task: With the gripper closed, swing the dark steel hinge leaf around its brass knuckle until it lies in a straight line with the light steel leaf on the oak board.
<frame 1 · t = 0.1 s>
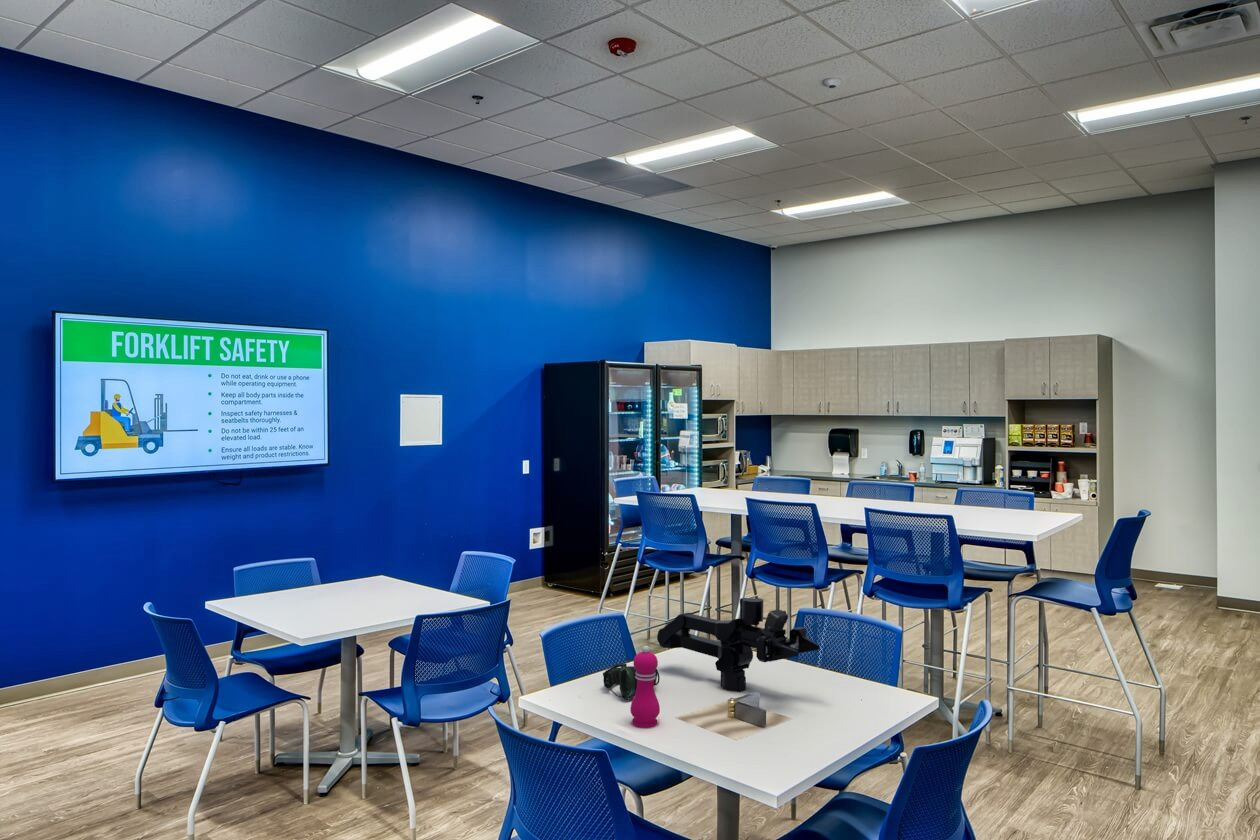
hand: (808, 650, 211), 17 cm above the table, tool horizontal, fingers open, 9 cm apart
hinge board: (733, 722, 206), on the table
fixed leaf: (732, 716, 207), resting on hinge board
headphones: (631, 693, 228), on the table
pepper mill: (644, 728, 201), on the table
swing leaf: (746, 712, 203), point 3 cm above the table, hinge at 0.0°
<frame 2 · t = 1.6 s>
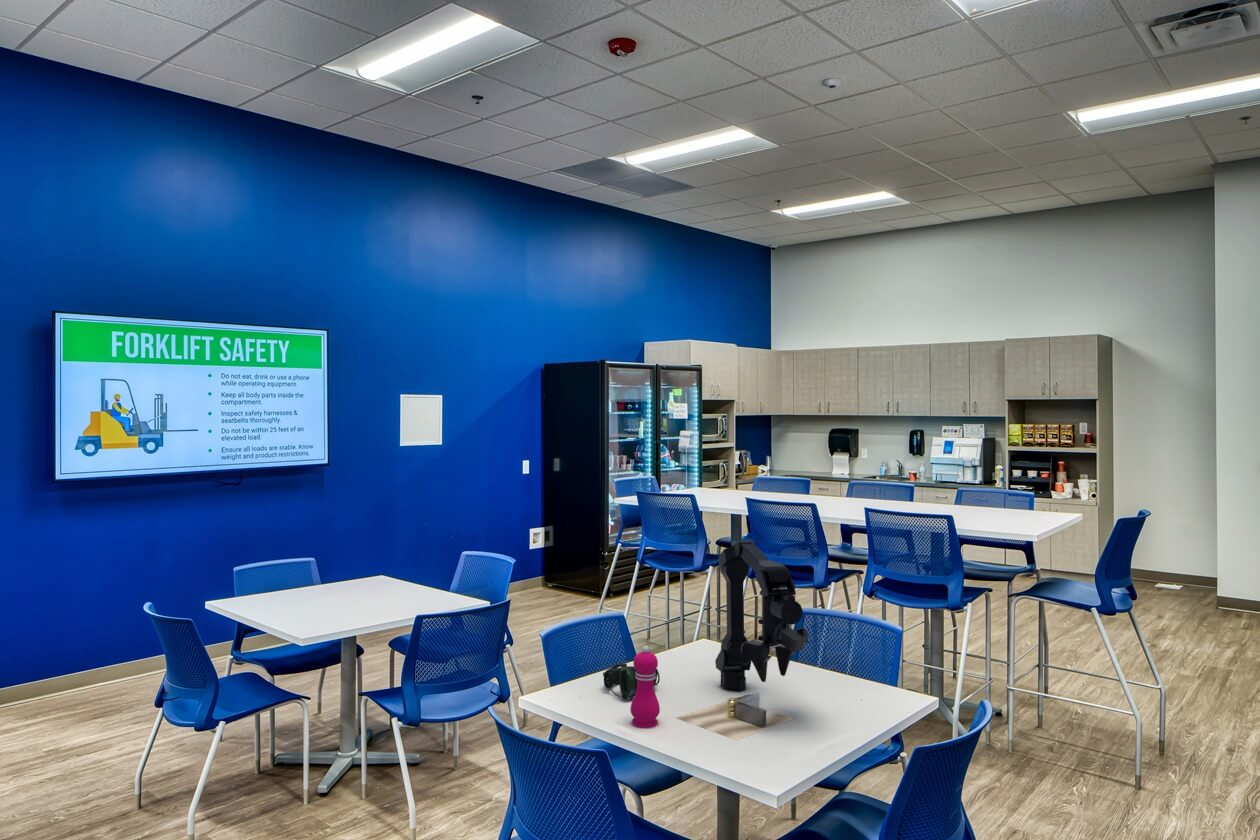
hand: (773, 678, 205), 11 cm above the table, tool pointing down, fingers open, 8 cm apart
nothing on the table moved.
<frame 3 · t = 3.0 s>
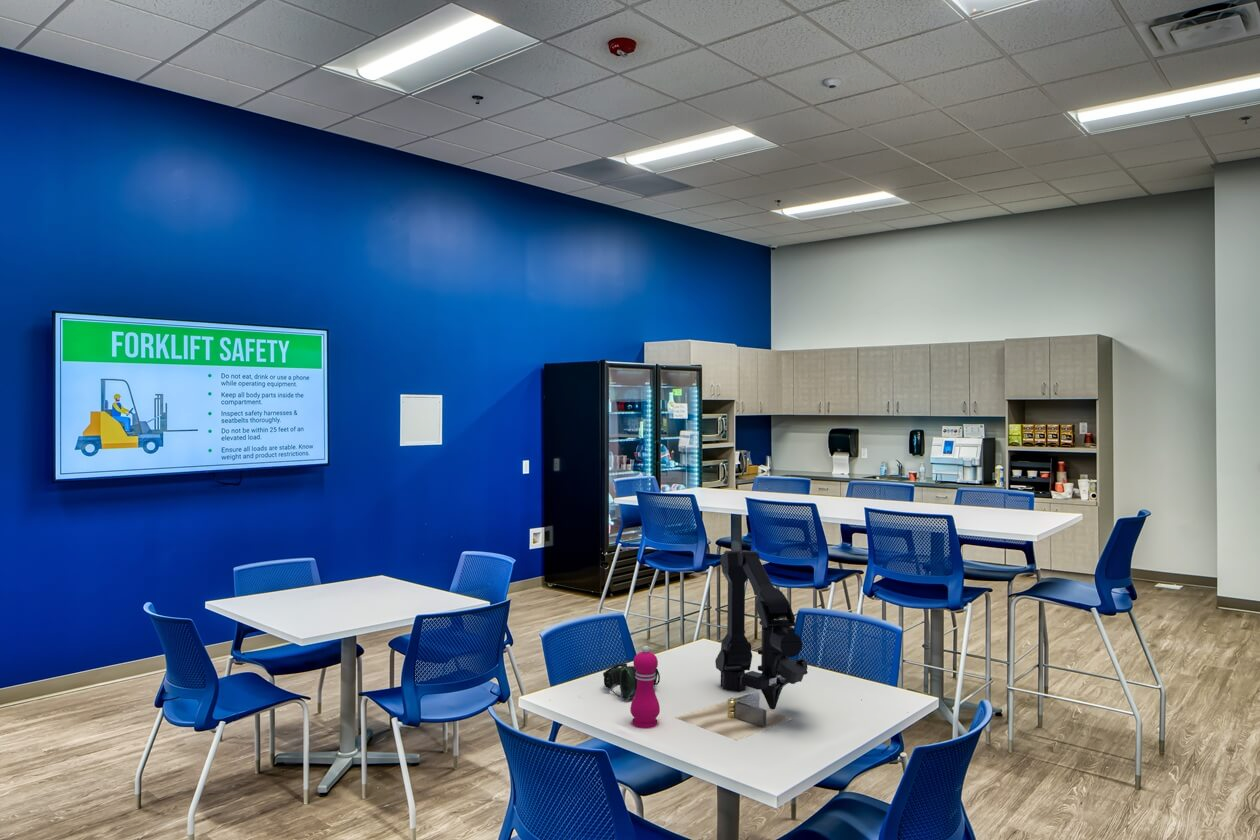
hand: (772, 709, 205), 4 cm above the table, tool pointing down, fingers closed
nothing on the table moved.
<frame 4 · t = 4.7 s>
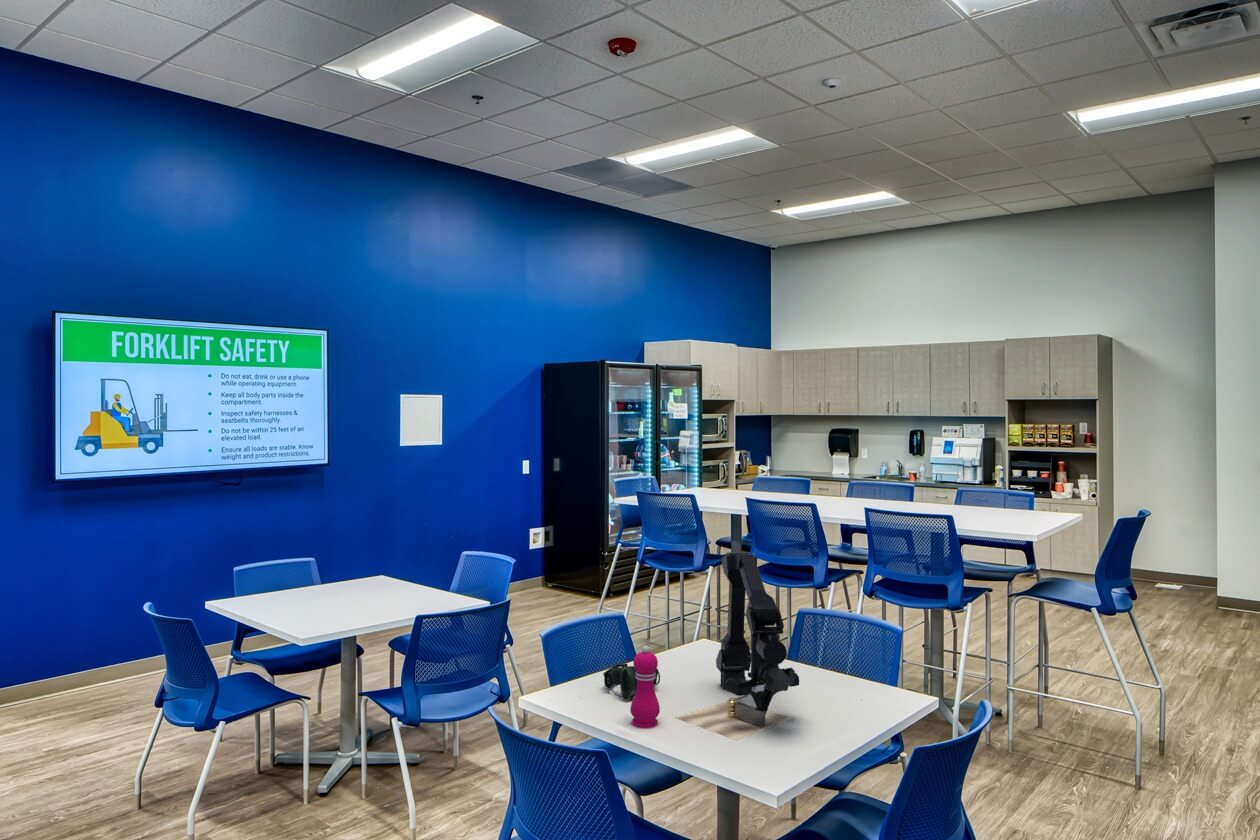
hand: (762, 716, 202), 3 cm above the table, tool pointing down, fingers closed
swing leaf: (746, 712, 203), point 3 cm above the table, hinge at -1.9°, touching gripper
everything else where it was.
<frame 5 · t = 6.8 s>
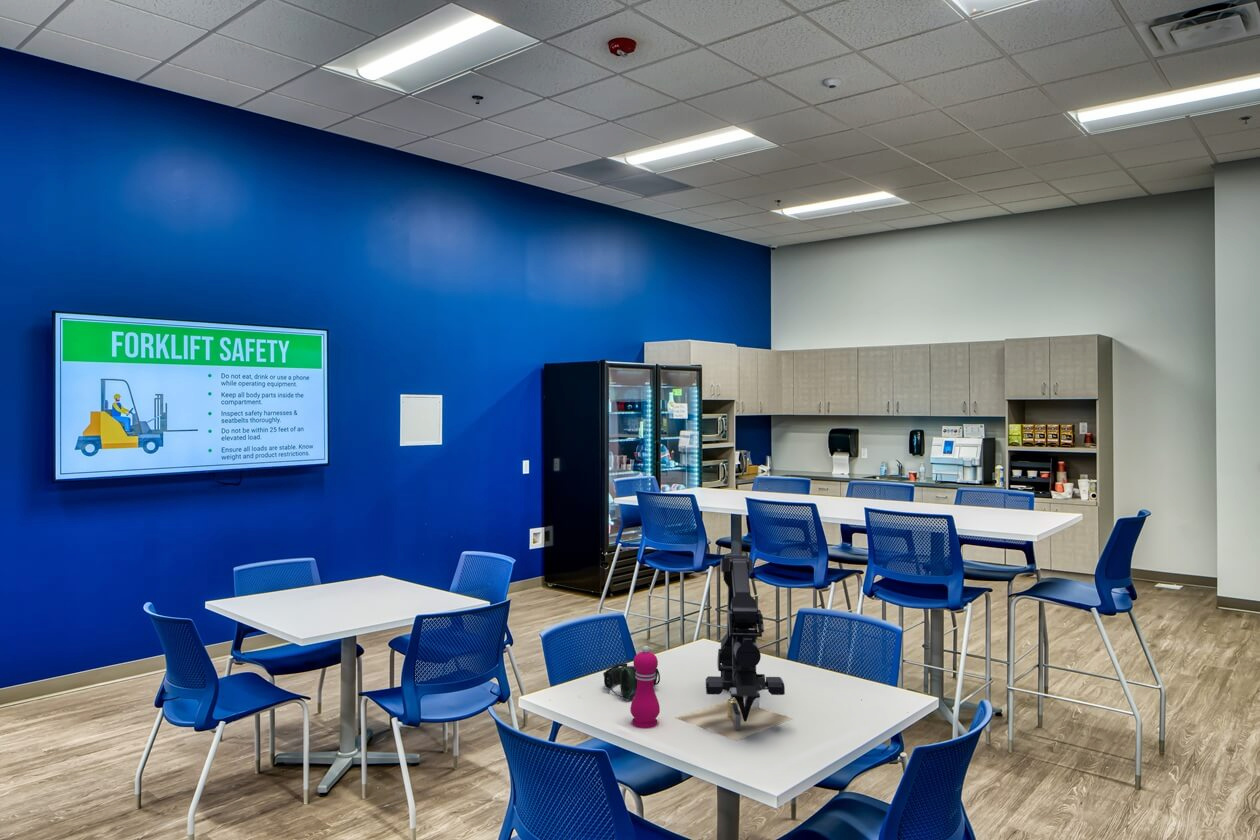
hand: (745, 720, 199), 3 cm above the table, tool pointing down, fingers closed
swing leaf: (734, 714, 202), point 3 cm above the table, hinge at -42.5°, touching gripper
everything else where it was.
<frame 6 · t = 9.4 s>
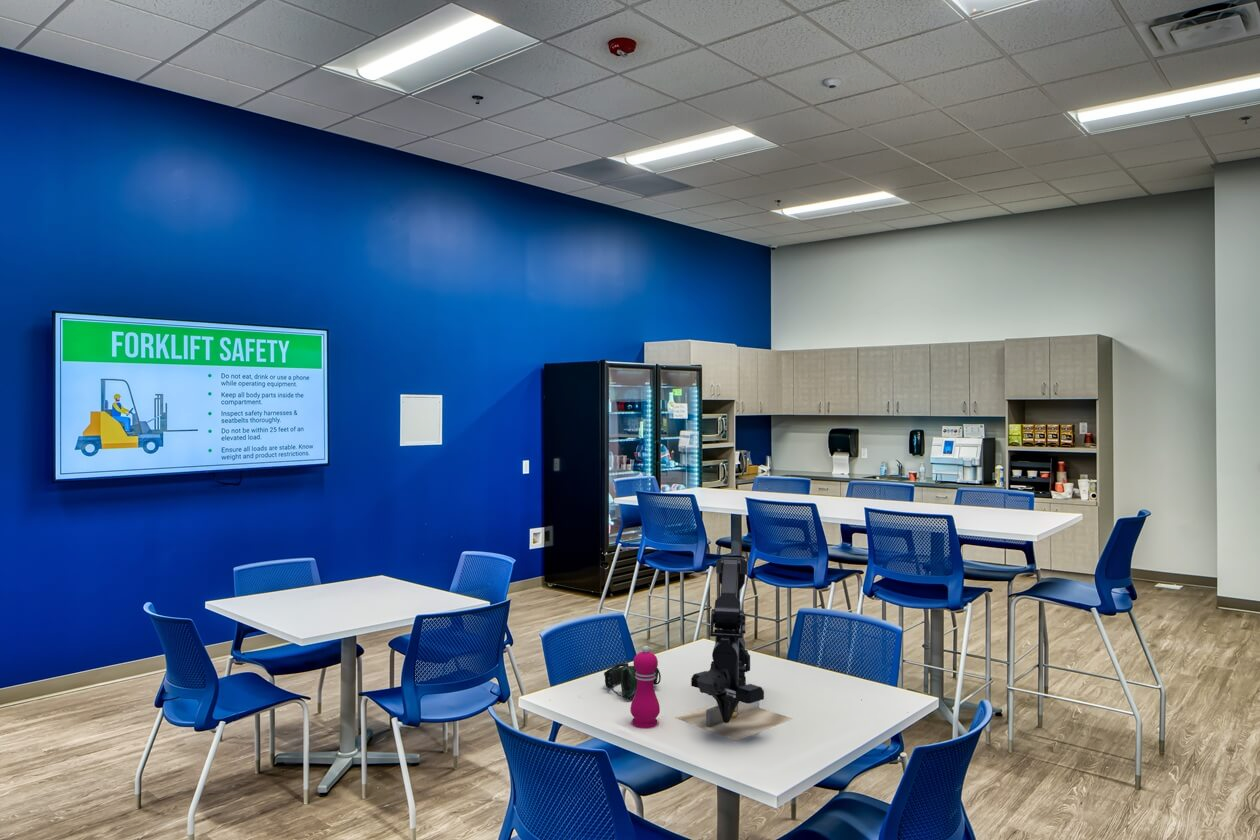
hand: (726, 722, 197), 3 cm above the table, tool pointing down, fingers closed
swing leaf: (721, 712, 203), point 3 cm above the table, hinge at -84.9°
everything else where it was.
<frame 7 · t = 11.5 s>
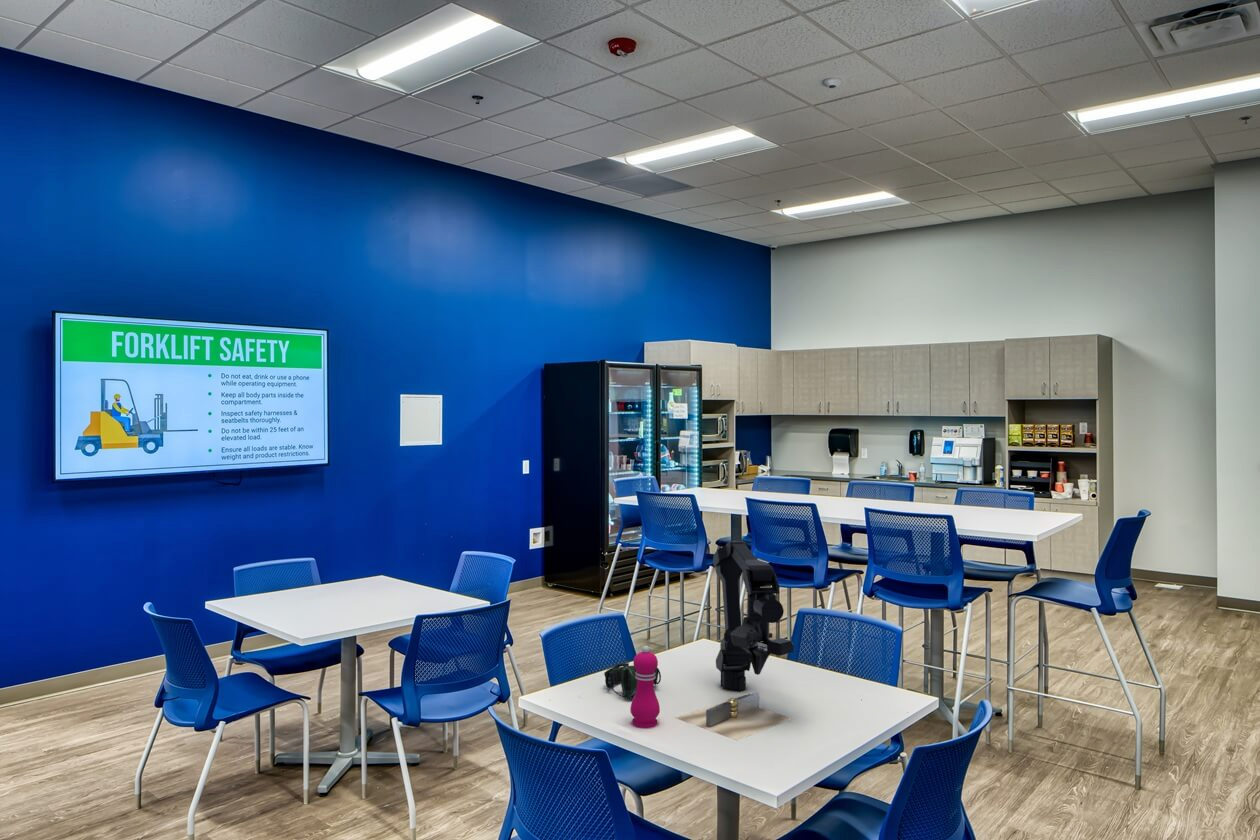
hand: (757, 674, 210), 11 cm above the table, tool pointing down, fingers closed
nothing on the table moved.
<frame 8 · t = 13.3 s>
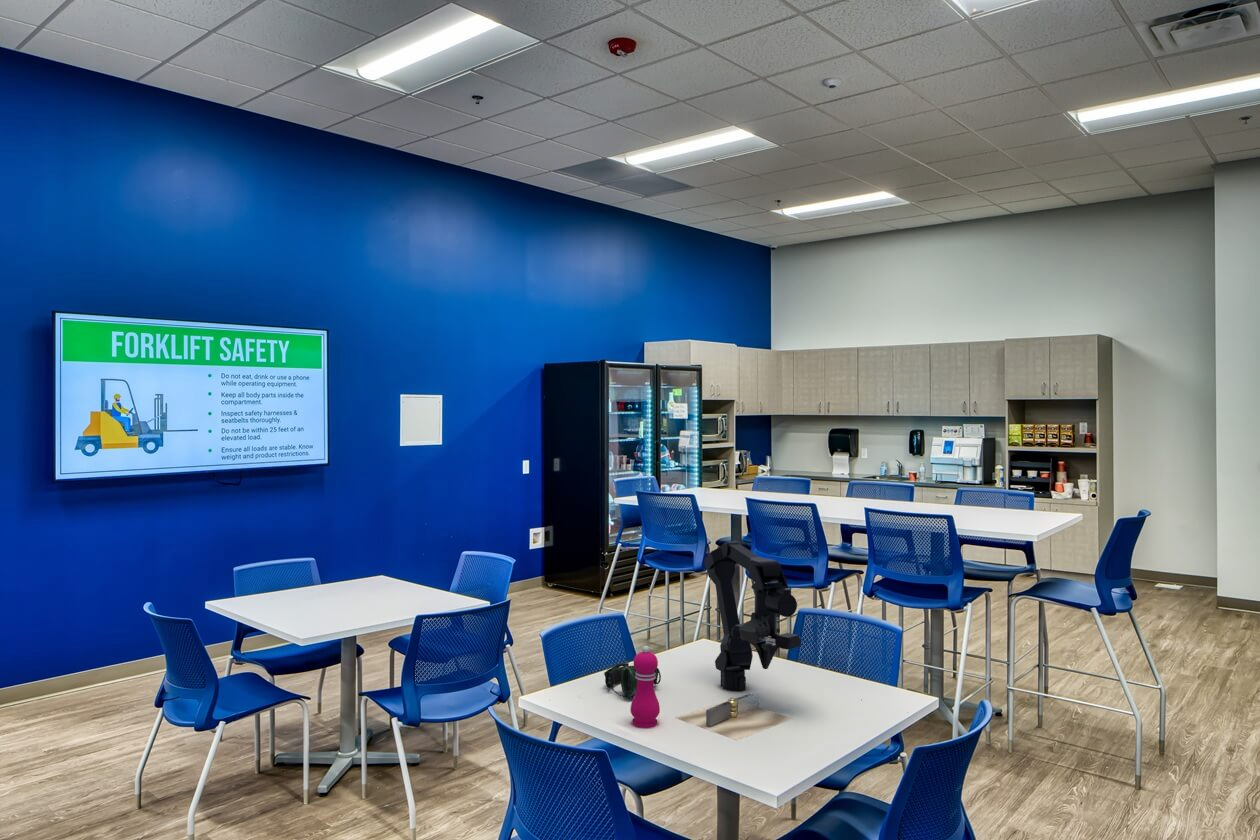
hand: (765, 668, 214), 11 cm above the table, tool pointing down, fingers closed
nothing on the table moved.
at the end: swing leaf at -85° (first picture: +0°); pepper mill moved 0.2 cm from its start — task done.
